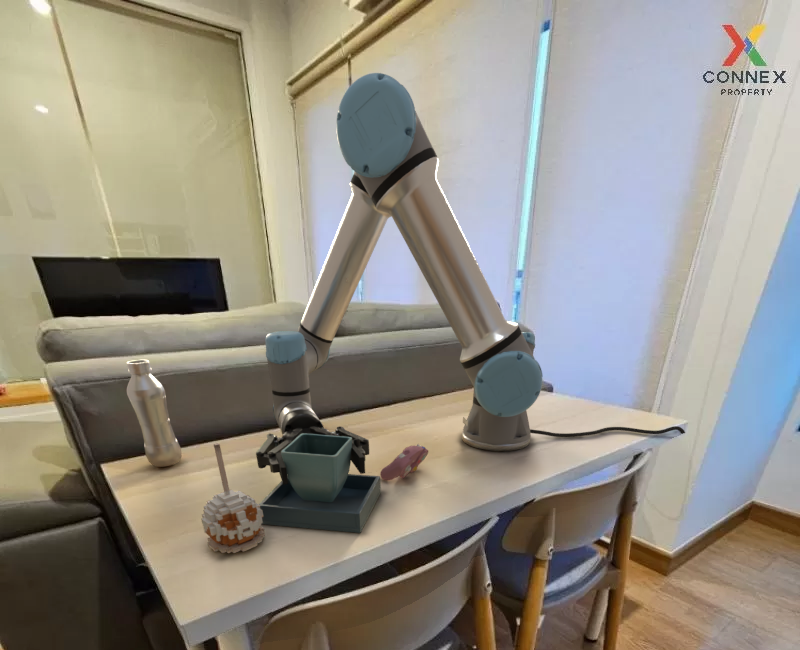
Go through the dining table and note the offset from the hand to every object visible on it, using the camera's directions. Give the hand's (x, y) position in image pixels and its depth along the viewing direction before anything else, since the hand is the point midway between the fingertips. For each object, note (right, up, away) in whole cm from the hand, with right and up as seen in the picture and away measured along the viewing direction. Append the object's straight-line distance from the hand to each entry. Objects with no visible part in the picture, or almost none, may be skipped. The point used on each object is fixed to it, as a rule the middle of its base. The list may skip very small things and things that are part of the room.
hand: (324, 470), depth 70 cm
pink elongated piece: (+12, +2, +19) cm, 23 cm away
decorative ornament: (-13, -11, -2) cm, 17 cm away
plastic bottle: (-36, +4, +24) cm, 44 cm away
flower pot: (-1, -4, +6) cm, 7 cm away
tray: (-1, -5, +7) cm, 9 cm away
